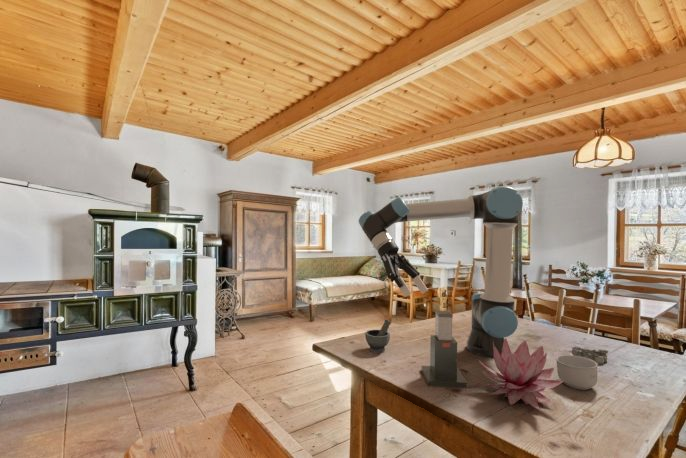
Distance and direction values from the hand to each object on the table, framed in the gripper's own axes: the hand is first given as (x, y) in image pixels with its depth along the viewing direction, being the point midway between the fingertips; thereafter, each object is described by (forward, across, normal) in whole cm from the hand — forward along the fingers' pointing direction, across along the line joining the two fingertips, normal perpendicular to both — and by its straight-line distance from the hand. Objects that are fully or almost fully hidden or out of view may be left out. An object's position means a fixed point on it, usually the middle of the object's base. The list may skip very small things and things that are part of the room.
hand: (417, 293), depth 118 cm
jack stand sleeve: (+27, 0, -9) cm, 28 cm away
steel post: (+25, 0, -8) cm, 27 cm away
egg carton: (+48, -54, +21) cm, 75 cm away
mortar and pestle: (+7, -9, -32) cm, 34 cm away
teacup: (+48, -24, +18) cm, 57 cm away
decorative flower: (+41, -2, +7) cm, 42 cm away
